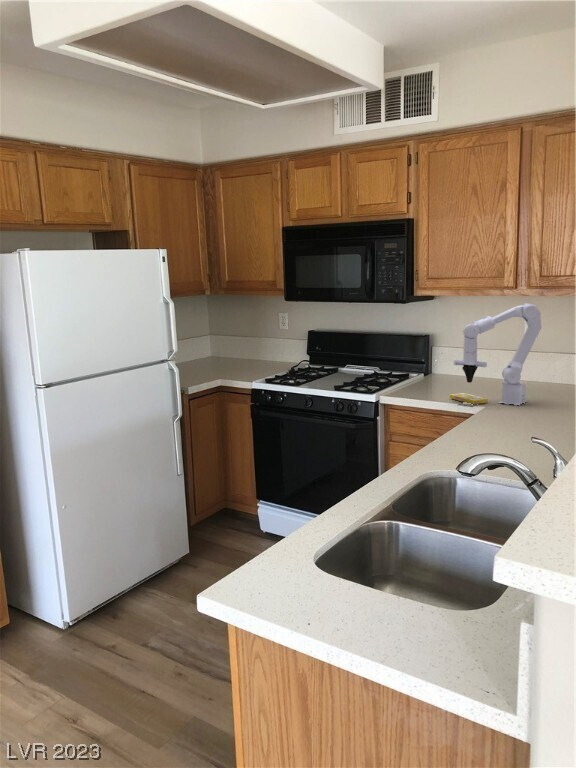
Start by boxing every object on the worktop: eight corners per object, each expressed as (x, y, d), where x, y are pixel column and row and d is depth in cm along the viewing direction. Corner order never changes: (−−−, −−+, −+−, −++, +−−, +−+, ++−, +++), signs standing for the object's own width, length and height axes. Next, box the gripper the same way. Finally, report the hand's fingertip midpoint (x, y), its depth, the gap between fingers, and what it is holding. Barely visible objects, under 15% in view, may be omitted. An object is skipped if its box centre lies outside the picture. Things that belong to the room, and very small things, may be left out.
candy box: (472, 405, 268) (487, 402, 271) (472, 400, 267) (487, 397, 270) (449, 398, 282) (464, 396, 286) (449, 394, 282) (464, 392, 285)
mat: (482, 402, 273) (482, 402, 272) (472, 406, 265) (472, 406, 265) (468, 401, 277) (468, 400, 277) (457, 404, 270) (457, 404, 270)
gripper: (489, 351, 268) (489, 382, 270) (458, 349, 277) (458, 379, 279) (483, 353, 262) (482, 384, 265) (451, 351, 272) (451, 381, 274)
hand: (469, 382), depth 272 cm, fingers closed
